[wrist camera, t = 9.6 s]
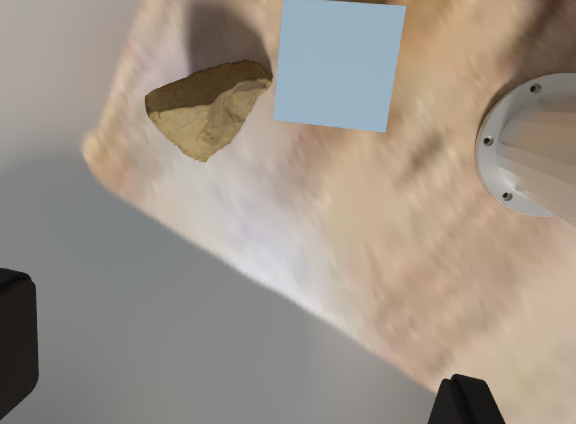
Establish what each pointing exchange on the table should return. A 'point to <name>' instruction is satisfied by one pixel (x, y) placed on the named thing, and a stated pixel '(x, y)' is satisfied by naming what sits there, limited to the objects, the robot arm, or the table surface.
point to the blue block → (337, 63)
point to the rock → (207, 106)
